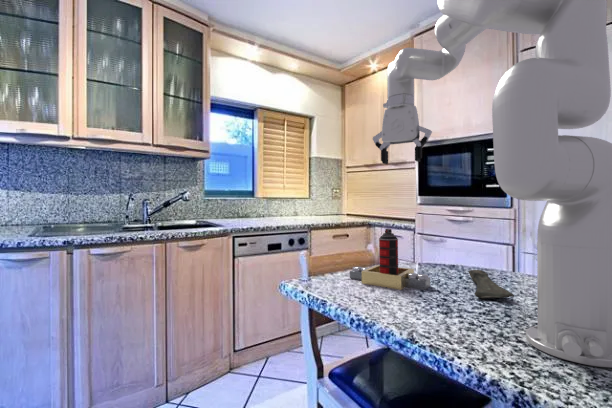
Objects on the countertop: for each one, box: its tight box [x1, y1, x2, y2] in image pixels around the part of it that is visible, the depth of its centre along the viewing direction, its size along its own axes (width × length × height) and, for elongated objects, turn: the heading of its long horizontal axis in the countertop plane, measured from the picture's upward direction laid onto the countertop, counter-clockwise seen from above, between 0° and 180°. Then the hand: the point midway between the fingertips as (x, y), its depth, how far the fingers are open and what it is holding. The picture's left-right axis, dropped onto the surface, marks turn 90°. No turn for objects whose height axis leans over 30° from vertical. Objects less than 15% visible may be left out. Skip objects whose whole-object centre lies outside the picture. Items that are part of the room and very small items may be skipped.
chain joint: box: [349, 264, 431, 291], centre depth 87 cm, size 10×21×4 cm, turn 56°
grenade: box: [378, 226, 399, 275], centre depth 87 cm, size 6×5×15 cm
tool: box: [468, 269, 515, 299], centre depth 81 cm, size 21×8×3 cm, turn 166°
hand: (401, 162), depth 96 cm, fingers open, 9 cm apart
